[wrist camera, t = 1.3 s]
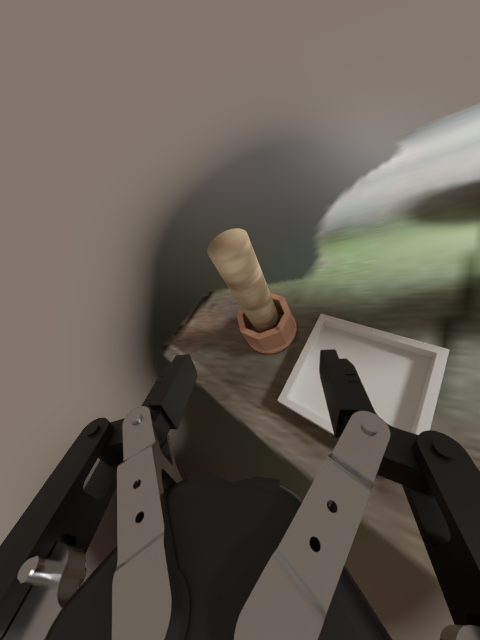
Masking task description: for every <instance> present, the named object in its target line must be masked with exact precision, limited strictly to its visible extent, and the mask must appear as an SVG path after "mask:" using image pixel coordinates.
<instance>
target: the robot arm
mask: <svg viewBox="0 0 480 640" xmlns="http://www.w3.org/2000/svg"><path fill="white" fill-rule="evenodd" d="M319 373H320V379H321V383H322V387H323V392H324V396H325V400H326V404H327V408H328V412H329V416H330V420H331V424H332V428H333V432H334V436H335V437H337V438H340V439H339V440H338V442H337V444H336V446H335V448H334V450H333V452H332V453H331V454H330V455H329V456H328V457H327V458H326V460H325V462H324V463H323V465H322V467H321V469H320V471H319V473H318V474H317V476H316V478H315V480H314V482H313V484H312V486H311V488H310V489H309V492H308V493H307V495H306V497H305V498H304V500H303V501H302V500H301V499H300V498H299V497H298V496H297V495H296V494H294V493H293V492H292V491H290V490H288V489H287V488H285V487H283V486H281V484H280V480H279V479H273V478H262V477H254V478H249V479H246V480H241V481H237V482H230V481H227V480H225V479H223V478H221V477H219V476H216V475H215V474H212V473H207V472H197V471H190V474H189V478H187V479H185V480H182V479H181V477H180V474H179V473H178V470H177V467H176V464H175V460H174V455H173V451H172V447H171V443H170V439H169V436H168V432H169V430H170V429H177V428H178V426H179V423H180V420H181V418H182V415H183V413H184V410H185V408H186V405H187V402H188V400H189V397H190V395H191V392H192V389H193V387H194V384H195V381H196V378H197V372H196V369H195V366H194V364H193V362H192V359H191V357H190V355H188V354H187V355H176V356H175V358H174V360H173V362H172V363H169V364H168V365H167V366H166V367H165V368H164V369H163V370H162V372H161V373H160V375H159V378H158V379H157V380H156V383H155V384H154V386H153V387H152V389H151V391H150V393H149V394H148V396H147V398H146V399H145V401H144V403H143V404H142V406H141V407H138V408H136V409H134V410H132V411H131V412H130V413H129V414H128V415H127V416H126V418H124V419H121V420H118V421H114V422H111V423H110V422H109V421H108V420H107V419H106V418H98V419H96V420H94V421H92V422H91V423H89V424H88V425H87V426H86V427H85V428H84V429H83V430H82V432H81V433H80V435H79V436H78V437H77V439H76V440H75V442H74V443H73V444H72V446H71V447H70V449H69V450H68V451H67V453H66V454H65V456H64V457H63V459H62V460H61V461H60V463H59V464H58V466H57V467H56V469H55V470H54V471H53V473H52V474H51V475H50V477H49V478H48V480H47V481H46V482H45V484H44V485H43V487H42V488H41V489H40V491H39V492H38V494H37V495H36V497H35V498H34V499H33V501H32V502H31V504H30V505H29V506H28V508H27V509H26V511H25V512H24V513H23V515H22V516H21V518H20V519H19V521H18V522H17V523H16V525H15V526H14V528H13V529H12V530H11V532H10V533H9V534H8V536H7V537H6V539H5V540H4V541H3V543H2V544H1V546H0V640H392V638H391V637H390V635H389V634H388V632H387V630H386V629H385V627H384V626H383V624H382V623H381V621H380V619H379V618H378V616H377V615H376V613H375V612H374V610H373V608H372V607H371V605H370V604H369V602H368V601H367V599H366V598H365V596H364V594H363V593H362V591H361V590H360V588H359V587H358V585H357V583H356V582H355V580H354V579H353V577H352V576H351V574H350V572H349V571H348V570H347V568H346V566H345V565H344V564H345V561H346V558H347V555H348V553H349V551H350V548H351V545H352V542H353V539H354V537H355V534H356V531H357V529H358V526H359V523H360V521H361V518H362V515H363V512H364V510H365V507H366V504H367V501H368V499H369V496H370V493H371V490H372V487H373V483H374V480H375V477H376V474H377V475H380V476H382V477H385V478H387V479H390V480H392V481H394V482H397V483H399V484H402V486H403V489H404V491H405V494H406V497H407V499H408V502H409V505H410V507H411V510H412V513H413V515H414V518H415V521H416V523H417V526H418V529H419V531H420V534H421V537H422V539H423V542H424V544H425V547H426V550H427V552H428V555H429V558H430V560H431V563H432V566H433V568H434V571H435V574H436V576H437V579H438V582H439V584H440V587H441V590H442V592H443V595H444V598H445V600H446V603H447V606H448V608H449V611H450V613H451V616H452V619H453V621H454V624H453V625H448V626H446V627H445V628H444V629H443V630H442V632H441V634H440V640H480V472H479V470H478V469H477V467H476V466H475V464H474V462H473V461H472V459H471V458H470V456H469V455H468V453H467V452H466V451H465V449H464V448H463V447H462V446H461V445H460V444H459V443H458V442H456V441H455V440H454V439H452V438H450V437H449V436H447V435H445V434H442V433H440V432H436V431H423V432H421V433H420V434H419V435H417V434H414V433H410V432H407V431H404V430H401V429H398V428H395V427H393V426H391V425H389V424H387V423H386V422H385V421H384V420H383V419H382V418H380V417H379V416H378V415H377V414H376V412H375V410H374V408H373V406H372V404H371V402H370V399H369V397H368V395H367V393H366V391H365V388H364V386H363V384H362V383H361V379H360V377H359V376H358V373H357V371H356V368H355V366H354V365H353V364H352V363H351V362H350V361H349V360H348V359H347V358H346V359H339V357H338V354H337V352H336V350H335V349H328V350H321V351H320V365H319ZM97 458H99V459H100V462H99V464H98V466H97V467H96V469H95V471H94V473H93V474H92V476H91V478H90V480H89V481H88V483H87V485H86V487H85V488H84V490H83V485H84V481H85V479H86V477H87V476H88V474H89V472H90V471H91V469H92V467H93V466H94V464H95V462H96V460H97ZM116 487H117V527H118V528H117V532H118V533H117V536H118V537H117V538H118V539H117V542H118V545H117V546H116V548H115V549H114V550H113V551H112V552H111V553H110V554H109V555H108V556H107V557H106V559H105V560H104V561H103V562H102V563H101V564H100V565H99V566H98V567H97V568H96V570H95V571H94V572H93V573H92V574H91V575H90V576H89V577H88V578H87V580H86V581H85V582H84V583H83V581H84V579H85V576H86V568H85V561H86V557H85V554H86V551H87V549H88V547H89V544H90V543H91V541H92V539H93V536H94V534H95V532H96V530H97V528H98V526H99V523H100V521H101V519H102V517H103V515H104V512H105V511H106V509H107V506H108V504H109V502H110V500H111V498H112V496H113V493H114V491H115V489H116ZM82 583H83V584H82ZM81 584H82V585H81ZM80 585H81V586H80Z"/></svg>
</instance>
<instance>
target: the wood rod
mask: <svg viewBox="0 0 480 640" xmlns="http://www.w3.org/2000/svg"><path fill="white" fill-rule="evenodd" d="M207 253H208V255H209V257H210V258H211V260H212V262H213V263H214V265H215V266H216V268H217V270H218V271H219V273H220V274H221V276H222V278H223V279H224V281H225V282H226V284H227V286H228V287H229V289H230V290H231V292H232V294H233V295H234V297H235V298H236V300H237V302H238V303H239V305H240V306H241V308H242V310H243V311H244V313H245V314H246V316H247V318H248V319H249V321H250V322H251V324H252V326H253V327H254V329H255V330H256V332H257V333H259V334H260V333H262V332H265V331H268V330H271V329H273V328H276V327H277V325H278V323H279V322H280V318H279V315H278V312H277V310H276V307H275V305H274V302H273V299H272V297H271V294H270V292H269V289H268V286H267V284H266V281H265V279H264V276H263V273H262V271H261V268H260V266H259V263H258V260H257V258H256V255H255V253H254V250H253V248H252V245H251V242H250V240H249V237H248V234H247V232H246V231H245V230H243V229H238V228H236V229H230V230H227V231H225V232H223V233H221V234H219V235H218V236H217V237H215V238H214V239H213V240H212V242H211V243H210V244H209V246H208V250H207Z"/></svg>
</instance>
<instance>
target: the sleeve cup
mask: <svg viewBox="0 0 480 640" xmlns="http://www.w3.org/2000/svg"><path fill="white" fill-rule="evenodd" d="M270 294H271V297H272V299H273V302H274V305H275V307H276V310H277V312H278V315H279V318H280V322H279V323H278V325H277V327H276V328H273V329H271V330H268V331H265V332H262V333H260V334H259V333H257V332H256V330H255V329H254V327H253V326H252V324H251V322H250V321H249V319H248V318H247V316H246V314H245V313H244V311H243V310H242V308H241V309H240V311H239V312H238V314H237V319H238V323H239V328H240V332H241V333H242V335H243V336H244V337H245V339H246V340H247V342H248V343H249V345H250V346H251V347H252V348H253V349H254V350H255V351H257V352H259V353H262V354H276V353H279V352H282V351H283V350H285V349H286V348H288V347H289V346H290V345H291V344H292V342H293V341H294V339H295V337H296V333H297V326H296V322H295V319H294V317H293V315H292V314H291V311H290V309H289V307H288V305H287V302H286V300H285V298H284V296H280V295H276V294H272V293H270Z"/></svg>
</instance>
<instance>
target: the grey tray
mask: <svg viewBox="0 0 480 640" xmlns="http://www.w3.org/2000/svg"><path fill="white" fill-rule="evenodd" d="M328 349H335V350H336V352H337V354H338V357H339V359H346V358H347V359H348V360H349V361H350V362H351V363H352V364H353V365H354V366H355V368H356V371H357V373H358V376H359V377H360V379H361V383H362V384H363V386H364V388H365V391H366V393H367V395H368V397H369V399H370V402H371V404H372V406H373V408H374V410H375V412H376V414H377V415H378V416H379V417H380V418H382V419H383V420H384V421H385V422H386V423H387V424H389V425H391V426H393V427H395V428H398V429H401V430H404V431H407V432H410V433H414V434H417V435H419V434H420V433H421V432H423V431H430V427H431V423H432V419H433V415H434V411H435V407H436V403H437V399H438V395H439V391H440V387H441V382H442V378H443V374H444V370H445V366H446V362H447V358H448V354H449V349H446V348H442V347H439V346H435V345H432V344H428V343H424V342H421V341H417V340H414V339H410V338H407V337H403V336H400V335H396V334H392V333H389V332H385V331H382V330H378V329H375V328H371V327H367V326H364V325H360V324H357V323H353V322H350V321H346V320H342V319H339V318H335V317H332V316H328V315H325V314H321V315H320V317H319V319H318V321H317V323H316V324H315V326H314V328H313V330H312V332H311V334H310V336H309V338H308V340H307V342H306V344H305V346H304V348H303V350H302V352H301V354H300V356H299V358H298V360H297V362H296V364H295V366H294V368H293V370H292V372H291V374H290V376H289V378H288V380H287V382H286V384H285V386H284V388H283V390H282V392H281V394H280V396H279V398H278V400H277V401H278V402H279V403H281V404H282V405H283V406H285V407H287V408H288V409H290V410H292V411H293V412H295V413H297V414H298V415H300V416H302V417H303V418H305V419H307V420H308V421H310V422H312V423H313V424H315V425H317V426H318V427H320V428H322V429H323V430H325V431H327V432H328V433H330V434H332V435H333V436H334V432H333V428H332V424H331V420H330V416H329V412H328V408H327V404H326V400H325V396H324V392H323V387H322V383H321V379H320V373H319V365H320V351H321V350H328ZM338 439H340V438H338Z"/></svg>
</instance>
